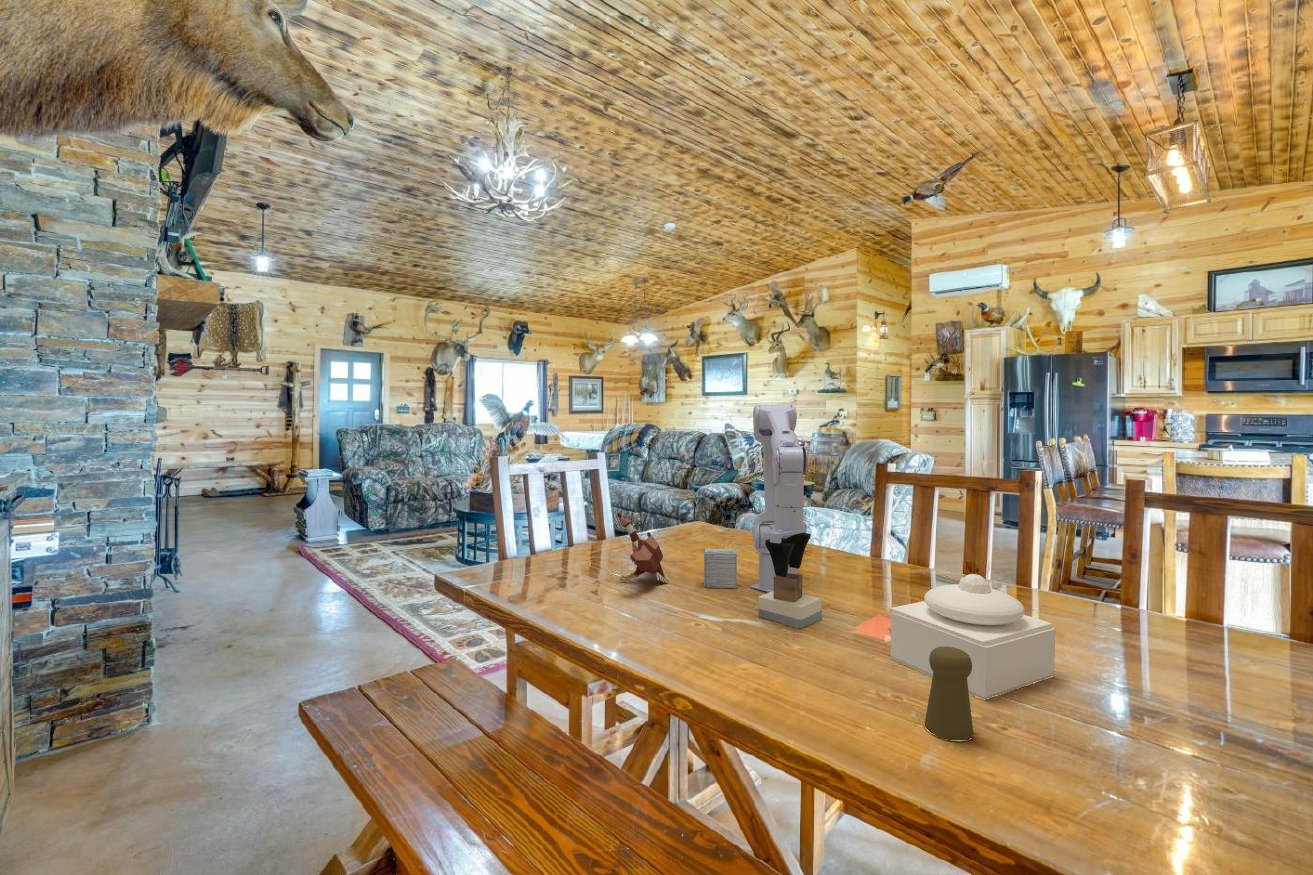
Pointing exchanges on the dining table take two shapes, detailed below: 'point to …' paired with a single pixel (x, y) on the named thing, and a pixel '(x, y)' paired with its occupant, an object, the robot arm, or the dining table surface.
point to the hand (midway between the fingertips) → (788, 571)
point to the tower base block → (790, 619)
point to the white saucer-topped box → (975, 636)
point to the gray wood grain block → (720, 568)
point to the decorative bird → (644, 554)
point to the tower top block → (790, 606)
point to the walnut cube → (788, 587)
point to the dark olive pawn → (949, 694)
